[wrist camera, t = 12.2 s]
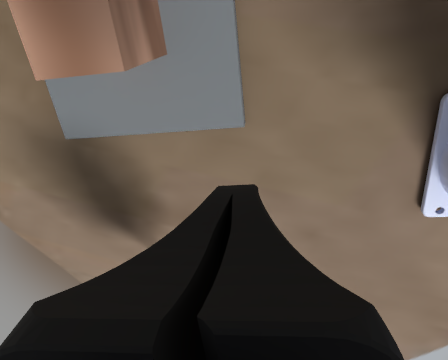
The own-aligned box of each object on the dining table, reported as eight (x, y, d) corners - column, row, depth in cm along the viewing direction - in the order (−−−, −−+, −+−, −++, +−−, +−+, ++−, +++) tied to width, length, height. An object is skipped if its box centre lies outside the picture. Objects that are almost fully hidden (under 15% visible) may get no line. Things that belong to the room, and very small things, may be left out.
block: (148, -53, 16) (87, -86, 11) (167, 54, 18) (124, 71, 13) (74, -41, 17) (-17, -65, 11) (101, 61, 19) (36, 80, 14)
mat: (218, -188, 14) (215, -199, 13) (245, 122, 20) (244, 126, 20) (-19, -132, 16) (-32, -139, 15) (72, 135, 22) (65, 139, 22)
